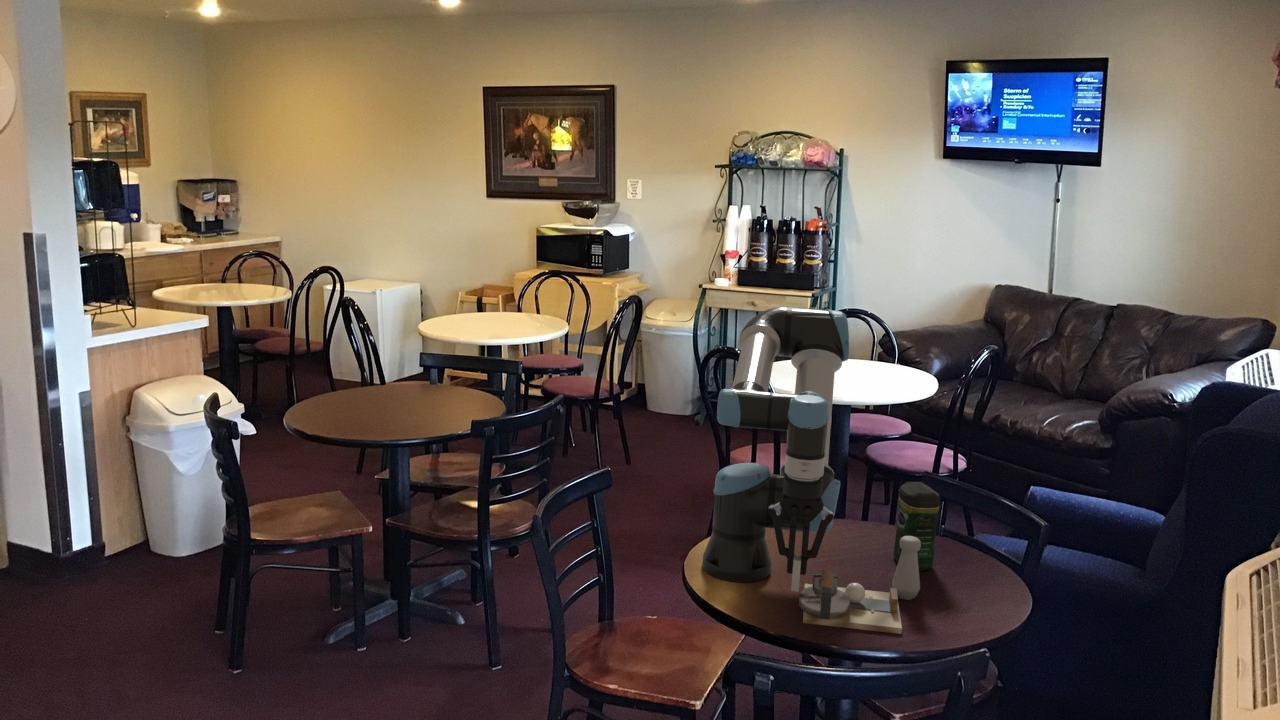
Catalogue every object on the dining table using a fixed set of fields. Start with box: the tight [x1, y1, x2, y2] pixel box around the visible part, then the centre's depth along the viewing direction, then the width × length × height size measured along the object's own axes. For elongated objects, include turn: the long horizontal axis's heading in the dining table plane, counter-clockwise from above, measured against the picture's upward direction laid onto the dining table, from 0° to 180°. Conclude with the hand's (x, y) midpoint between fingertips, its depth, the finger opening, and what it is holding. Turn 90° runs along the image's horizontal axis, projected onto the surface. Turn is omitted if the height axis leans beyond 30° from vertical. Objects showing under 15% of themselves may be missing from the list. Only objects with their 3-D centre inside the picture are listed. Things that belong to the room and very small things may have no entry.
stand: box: [802, 583, 903, 635], centre depth 212 cm, size 19×16×4 cm
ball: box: [845, 582, 866, 603], centre depth 213 cm, size 4×4×4 cm
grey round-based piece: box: [798, 569, 850, 620], centre depth 208 cm, size 10×16×7 cm, turn 170°
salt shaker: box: [891, 536, 921, 601], centre depth 219 cm, size 6×6×13 cm
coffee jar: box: [892, 481, 941, 572], centre depth 235 cm, size 10×8×19 cm
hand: (795, 588), depth 208 cm, fingers closed
